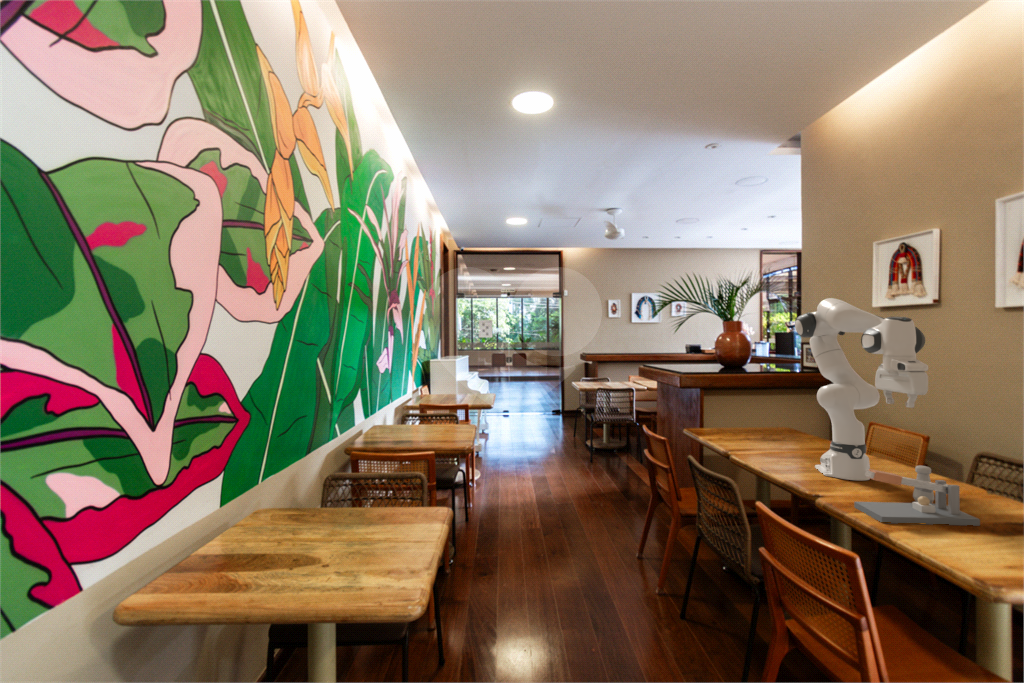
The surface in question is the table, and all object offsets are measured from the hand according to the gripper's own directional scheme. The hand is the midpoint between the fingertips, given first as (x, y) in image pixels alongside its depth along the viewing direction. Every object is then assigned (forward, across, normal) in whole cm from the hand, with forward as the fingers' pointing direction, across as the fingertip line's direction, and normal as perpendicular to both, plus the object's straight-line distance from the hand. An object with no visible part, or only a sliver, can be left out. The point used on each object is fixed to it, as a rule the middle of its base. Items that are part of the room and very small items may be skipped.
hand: (899, 405), depth 160 cm
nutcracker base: (+35, +6, 0) cm, 36 cm away
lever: (+26, +6, -1) cm, 27 cm away
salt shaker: (+35, -7, +12) cm, 38 cm away
